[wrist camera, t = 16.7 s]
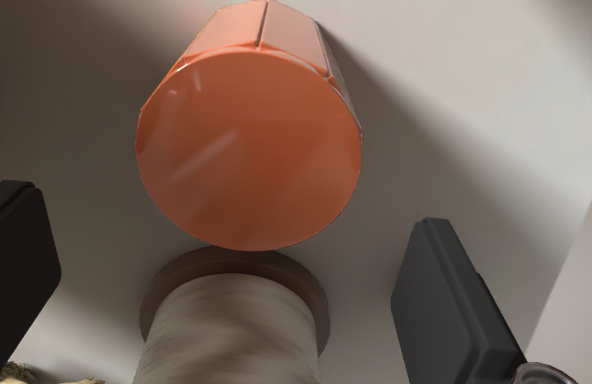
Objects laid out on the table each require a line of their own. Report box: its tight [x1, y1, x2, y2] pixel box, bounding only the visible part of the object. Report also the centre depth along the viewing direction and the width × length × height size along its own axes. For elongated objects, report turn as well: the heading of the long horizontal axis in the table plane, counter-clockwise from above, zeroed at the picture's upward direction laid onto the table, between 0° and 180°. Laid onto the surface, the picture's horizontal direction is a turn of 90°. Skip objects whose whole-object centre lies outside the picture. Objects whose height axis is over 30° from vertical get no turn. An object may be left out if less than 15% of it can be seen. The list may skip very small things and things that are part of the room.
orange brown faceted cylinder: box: [135, 0, 363, 251], centre depth 17 cm, size 7×8×9 cm
